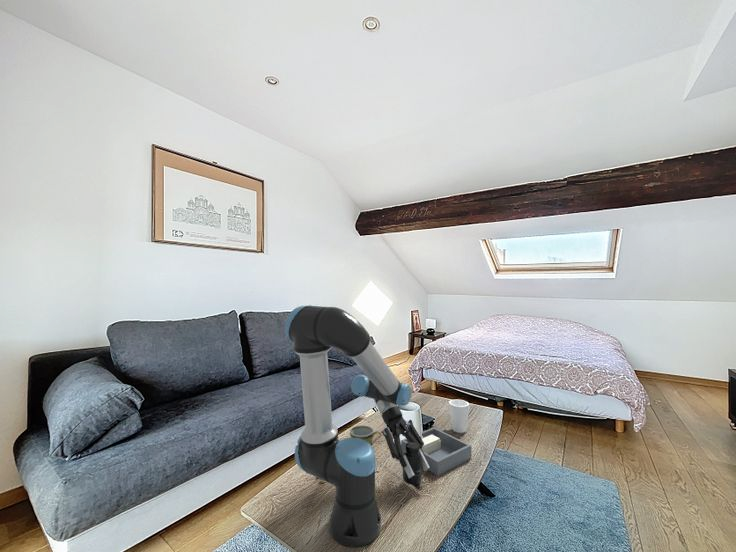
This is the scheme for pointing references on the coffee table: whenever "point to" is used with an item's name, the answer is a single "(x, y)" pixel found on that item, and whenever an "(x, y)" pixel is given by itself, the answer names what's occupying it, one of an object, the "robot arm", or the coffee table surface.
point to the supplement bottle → (413, 463)
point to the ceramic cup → (364, 433)
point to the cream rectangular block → (431, 444)
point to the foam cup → (459, 415)
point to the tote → (444, 452)
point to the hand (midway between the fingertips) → (419, 472)
